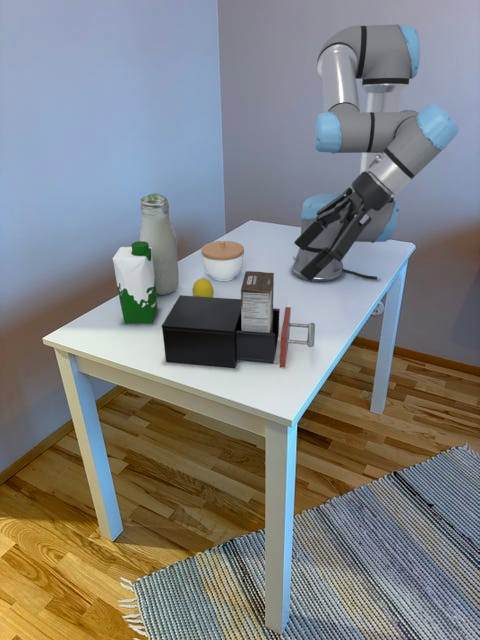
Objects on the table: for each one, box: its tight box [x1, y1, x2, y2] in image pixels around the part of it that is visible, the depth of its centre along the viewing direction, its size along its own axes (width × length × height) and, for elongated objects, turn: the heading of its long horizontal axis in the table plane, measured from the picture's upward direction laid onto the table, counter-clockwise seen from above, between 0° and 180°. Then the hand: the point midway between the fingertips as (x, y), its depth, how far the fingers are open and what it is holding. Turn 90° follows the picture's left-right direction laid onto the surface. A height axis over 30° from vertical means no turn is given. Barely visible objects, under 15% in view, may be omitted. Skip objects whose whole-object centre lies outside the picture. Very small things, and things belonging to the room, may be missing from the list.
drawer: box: [235, 306, 316, 369], centre depth 103 cm, size 20×13×8 cm, turn 81°
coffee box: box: [240, 270, 275, 333], centre depth 101 cm, size 9×6×16 cm
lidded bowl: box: [200, 240, 245, 282], centre depth 139 cm, size 13×13×11 cm
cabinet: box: [161, 294, 241, 369], centre depth 105 cm, size 16×14×10 cm
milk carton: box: [112, 240, 158, 324], centre depth 116 cm, size 9×9×20 cm
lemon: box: [192, 277, 214, 298], centre depth 124 cm, size 6×6×8 cm
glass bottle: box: [138, 193, 180, 296], centre depth 126 cm, size 10×10×28 cm
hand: (301, 260), depth 97 cm, fingers open, 13 cm apart
